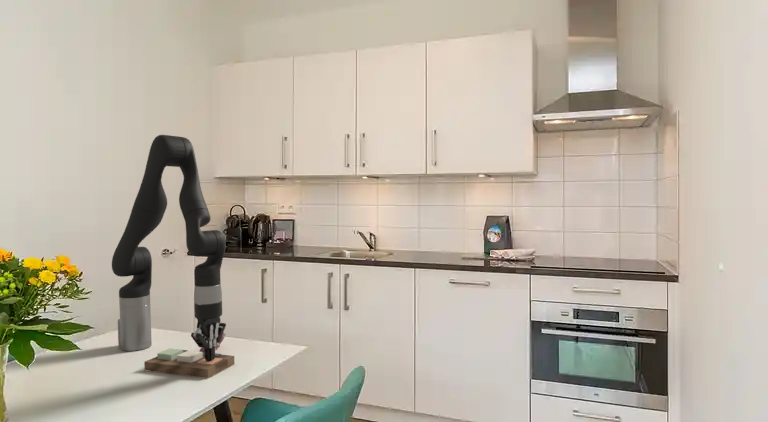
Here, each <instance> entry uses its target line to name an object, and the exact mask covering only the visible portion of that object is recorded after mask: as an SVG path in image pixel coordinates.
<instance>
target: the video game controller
mask: <svg viewBox="0 0 768 422" xmlns="http://www.w3.org/2000/svg"><path fill="white" fill-rule="evenodd" d="M225 336H226V333H224V332H223V334H222V337H221V340H220V342H219V343H216V346H215V350H217V348H218V349H219V348H220V347H221V343H222V342H223V341H224V339H225ZM199 352H204V348H203V347H200V348H199Z"/></svg>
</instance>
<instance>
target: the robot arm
mask: <svg viewBox="0 0 768 422" xmlns="http://www.w3.org/2000/svg"><path fill="white" fill-rule="evenodd" d="M196 159H197V158H196V154H195V150H194V146H193V144H192V142H191V141H190V140H189V139H188V138H187V137H185V136H184V137H183V136H176V135H168V134H159V135H156V136H155V137H154V139H153V140H152V142H151V146H150V149H149V152H148V156H147V161H146V165H145V169H144V174H143V177H142V180H141V182H140V186H139V190H138V192H137V194H136V197H135V200H134V202H133V205H132V209H131V211H130V214H129V218H128V221H127V224H126V227H125V229H124V232H123V233H122V236H121V238H120V240H119V242H118V244H117V245H116V248H115V250H114V253H113V255H112V259H111V270H112V272H113V274H115V276H117V277H124V278H125V277H132V276H133V277H132V279H131V280H130V281H129V282H127V283H126V284H125V285H123V286H121V287H120V288H119V290H118V300H119V301H118V302H119V319H117V337H118V338H117V339H118V340H117V342H118V349H121V351H124V352H134V351H140V350H145V349H148V348H150V347H151V346H152V315H151V312H152V311H151V287H152V275H153V273H152V270H153V262H152V261H153V260H152V259H153V258H152V254H151V252H150V250H149V249H148V248H147V247H146V246H139V245H140V244H141V243H142V242H143V241H144V240H145V239H146V237H148V236H149V235H150V234H151V233H152V232H154V231H155V229H156V228H157V227H158V226H159V225H160V224H161V222H162V220H163V218H164V215H165V213H166V210H167V206H168V198H167V195H166V191H165V189H164V186H163V183H162V178H163V172H164V170H165V168H166V167H172V168H173V167H174V168H180V170H181V172H182V175H183V182H182V186H181V189H180V191H179V198H178V202H179V207H180V211H181V214H182V218H183V219H184V222H185V233H186V234H185V235H186V236H185V239H186V240H185V243H186V249H187V251H188V253H189V254H191V255H192V256H194V257H204V256H207V258H206V260H205V261H204V262H202V263H200V264H198V265H197V264H196V265H195V267H194V271H193V272H194V273H193V274H194V291H193V293H194V294H193V301H194V303H193V304H194V305H193V308H194V318H195V319H196V320H197V323H196V330H195V331H194V332H191V333H190V336H191V338H192V340H193V341H194V343H195V344H196V345H197V346H198V348H202V347H203V348H204V353H205V360H206V361H212V360H214V359H215V353H216V349H215V346H216V343H219V342H220V340H221V337H222V334H223V333H224V332H225V329H226V327H227V324H226V322H221V317H222V316H223V291H222V285H221V268H222V264H223V259H224V255H225V251H226V247H227V246H226V244H227V241H226V237H225V235H224V233H223V232H222V231H221V230H218V229H213V230H212V229H211V230H201V228H203V227H205V226H207V225H208V224H209V223H210V222H211V214H210V211H209V208H208V206H207V203H206V200H205V197H204V195H203V191H202V187H201V181H200V176H199V170H198V165H197V160H196Z"/></svg>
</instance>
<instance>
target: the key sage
mask: <svg viewBox="0 0 768 422" xmlns="http://www.w3.org/2000/svg"><path fill="white" fill-rule="evenodd" d="M183 350H184V349H180V348H179V349H178V348H167V349H164V350H162V351H160V352H157V356H158V359H163V360H174V359H176V358H177V355H179V354H182V353H183ZM157 356H156V357H157Z"/></svg>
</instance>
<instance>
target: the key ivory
mask: <svg viewBox="0 0 768 422" xmlns="http://www.w3.org/2000/svg"><path fill="white" fill-rule="evenodd" d="M200 358H203V352H200V350H199V351H196V350H189V351H186V352H184V353H182V354H179V355H177V361H180V362H189V363H192V362H194V361H196V360H198V359H200Z"/></svg>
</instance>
